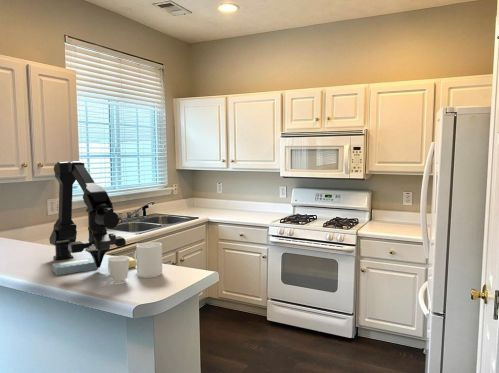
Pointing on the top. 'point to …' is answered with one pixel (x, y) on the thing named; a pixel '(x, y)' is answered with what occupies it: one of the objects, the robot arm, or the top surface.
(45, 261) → the top surface
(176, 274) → the top surface
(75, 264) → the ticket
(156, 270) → the mug
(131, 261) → the yellow box
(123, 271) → the cup
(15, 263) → the top surface
